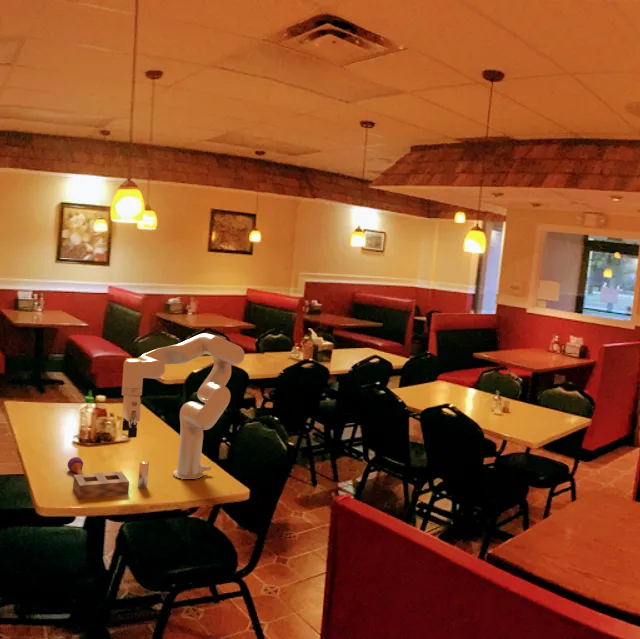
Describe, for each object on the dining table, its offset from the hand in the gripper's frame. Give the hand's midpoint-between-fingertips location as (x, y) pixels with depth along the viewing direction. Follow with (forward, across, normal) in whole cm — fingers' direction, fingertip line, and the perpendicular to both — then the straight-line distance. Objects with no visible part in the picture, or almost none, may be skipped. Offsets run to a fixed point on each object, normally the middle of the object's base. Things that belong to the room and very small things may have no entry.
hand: (129, 433), depth 253 cm
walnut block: (+21, -3, +10) cm, 24 cm away
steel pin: (+21, -2, -6) cm, 22 cm away
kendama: (+22, +15, +16) cm, 30 cm away
